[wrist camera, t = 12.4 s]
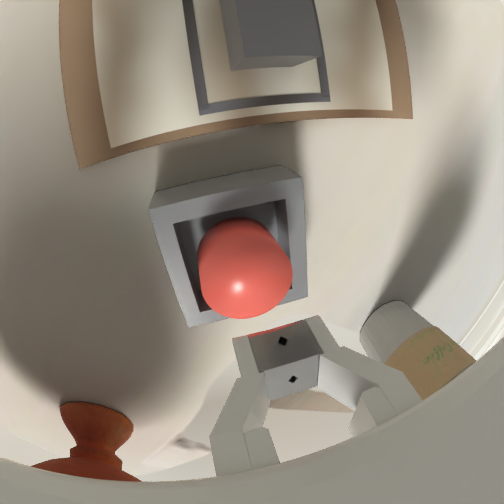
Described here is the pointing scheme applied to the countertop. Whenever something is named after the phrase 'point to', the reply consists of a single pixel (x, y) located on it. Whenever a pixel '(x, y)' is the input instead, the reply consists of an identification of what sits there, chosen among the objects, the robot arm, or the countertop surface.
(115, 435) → the goblet
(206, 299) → the button
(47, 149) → the countertop surface
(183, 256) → the button housing
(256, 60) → the block
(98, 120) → the drawing board
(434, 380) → the coffee cup
